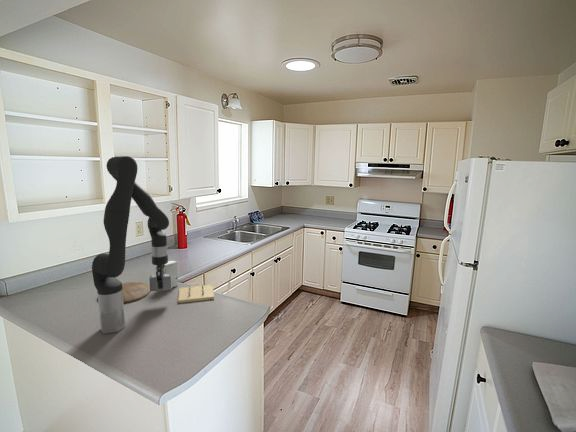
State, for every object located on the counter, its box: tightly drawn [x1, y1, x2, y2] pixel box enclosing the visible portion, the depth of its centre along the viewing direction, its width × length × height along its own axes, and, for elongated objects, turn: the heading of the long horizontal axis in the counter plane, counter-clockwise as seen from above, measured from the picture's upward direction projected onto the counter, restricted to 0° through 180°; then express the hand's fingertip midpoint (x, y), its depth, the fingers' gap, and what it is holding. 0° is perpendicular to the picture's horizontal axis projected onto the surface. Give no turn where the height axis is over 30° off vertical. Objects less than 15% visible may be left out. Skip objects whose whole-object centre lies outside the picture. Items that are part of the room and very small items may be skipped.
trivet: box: [122, 281, 152, 305], centre depth 165 cm, size 25×25×2 cm
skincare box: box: [164, 260, 179, 289], centre depth 174 cm, size 8×6×15 cm
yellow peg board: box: [177, 284, 215, 304], centre depth 165 cm, size 16×18×4 cm
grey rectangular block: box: [148, 274, 173, 292], centre depth 153 cm, size 4×10×7 cm, turn 107°
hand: (161, 286), depth 154 cm, fingers closed on grey rectangular block, 4 cm apart
